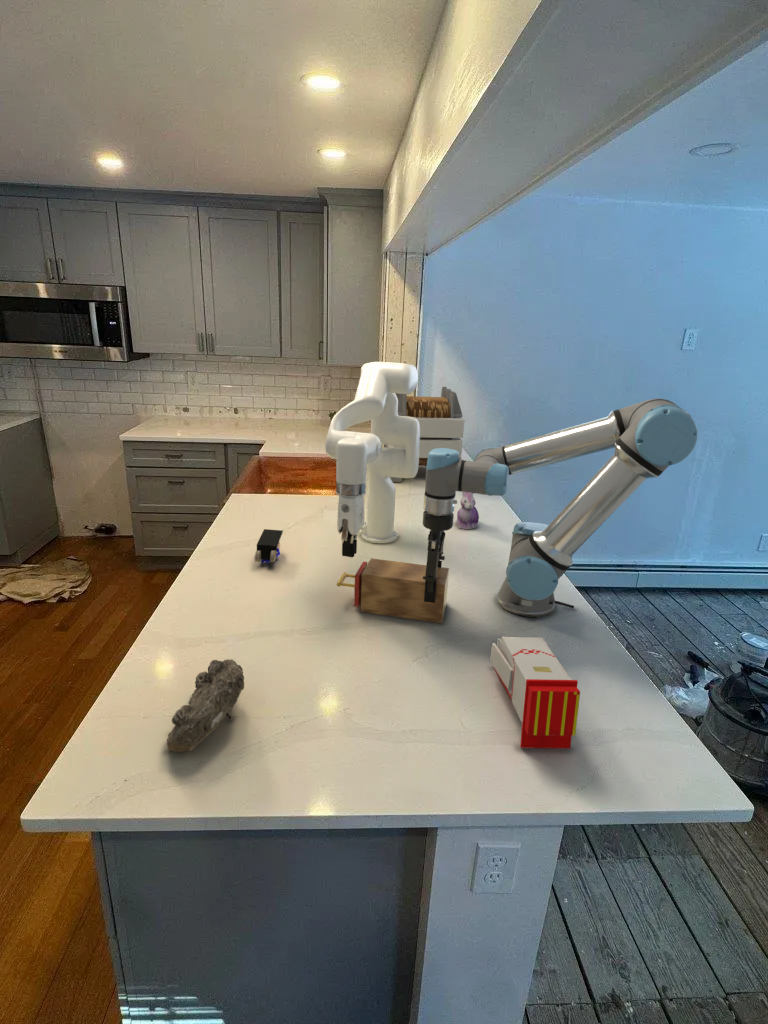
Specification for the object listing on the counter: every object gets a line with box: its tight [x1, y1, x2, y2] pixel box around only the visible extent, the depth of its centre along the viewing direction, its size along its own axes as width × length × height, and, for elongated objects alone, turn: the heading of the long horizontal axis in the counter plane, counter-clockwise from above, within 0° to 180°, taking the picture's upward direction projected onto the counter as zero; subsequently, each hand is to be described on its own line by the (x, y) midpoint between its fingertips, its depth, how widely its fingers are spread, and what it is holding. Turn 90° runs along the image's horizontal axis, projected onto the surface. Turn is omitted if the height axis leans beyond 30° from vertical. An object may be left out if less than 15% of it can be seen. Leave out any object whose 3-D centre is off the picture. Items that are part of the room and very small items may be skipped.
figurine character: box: [254, 528, 284, 568], centre depth 174 cm, size 7×8×15 cm
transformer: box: [383, 386, 465, 483], centre depth 268 cm, size 34×33×41 cm
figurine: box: [455, 492, 480, 530], centre depth 208 cm, size 9×10×15 cm
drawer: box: [336, 561, 368, 608], centre depth 150 cm, size 25×9×9 cm, turn 78°
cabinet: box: [360, 557, 450, 624], centre depth 149 cm, size 21×10×11 cm, turn 78°
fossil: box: [166, 658, 245, 754], centre depth 106 cm, size 22×10×15 cm
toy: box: [489, 636, 581, 749], centre depth 115 cm, size 12×13×30 cm
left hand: (349, 554), depth 149 cm, fingers closed
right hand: (432, 592), depth 147 cm, fingers closed on cabinet, 10 cm apart
